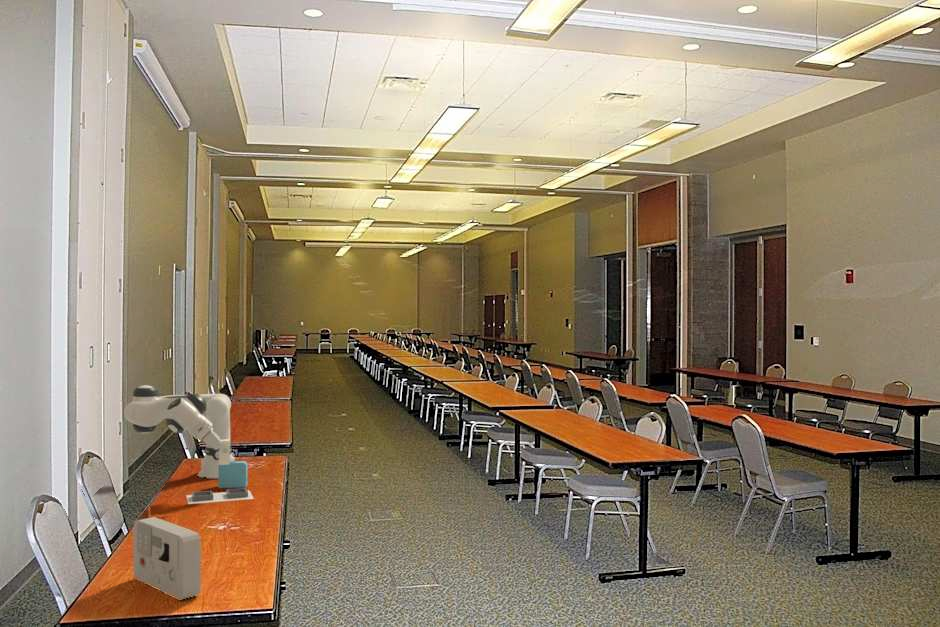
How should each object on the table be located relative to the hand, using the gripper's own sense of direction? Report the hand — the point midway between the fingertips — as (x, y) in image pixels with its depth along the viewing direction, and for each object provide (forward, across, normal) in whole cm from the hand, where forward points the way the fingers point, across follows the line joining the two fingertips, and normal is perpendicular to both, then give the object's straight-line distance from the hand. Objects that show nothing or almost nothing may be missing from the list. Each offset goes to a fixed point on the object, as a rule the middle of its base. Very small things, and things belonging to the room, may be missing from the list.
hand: (226, 451), depth 326 cm
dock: (+13, 0, -16) cm, 21 cm away
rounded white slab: (-2, +102, -32) cm, 107 cm away
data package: (+18, -19, -12) cm, 28 cm away
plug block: (+3, 0, -4) cm, 5 cm away
